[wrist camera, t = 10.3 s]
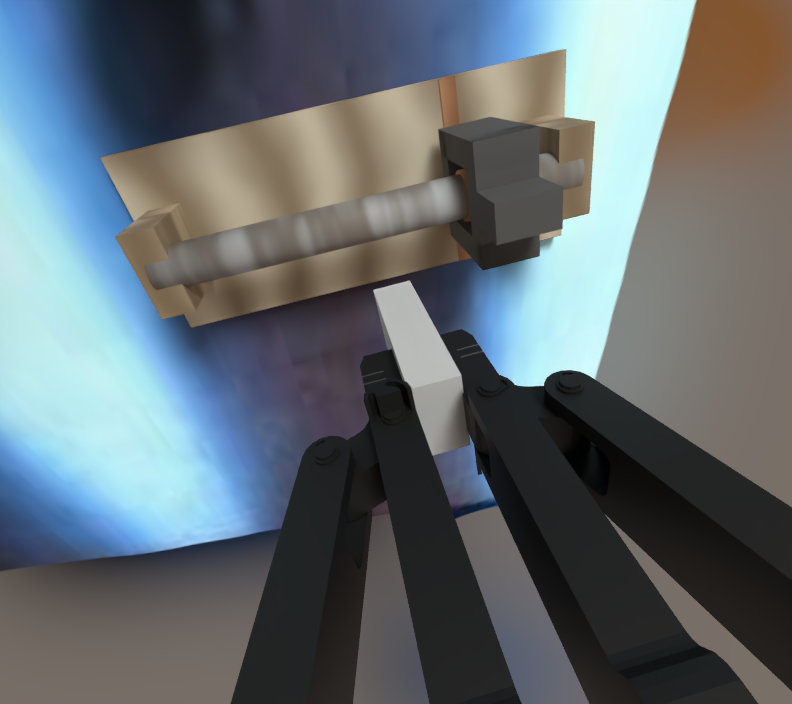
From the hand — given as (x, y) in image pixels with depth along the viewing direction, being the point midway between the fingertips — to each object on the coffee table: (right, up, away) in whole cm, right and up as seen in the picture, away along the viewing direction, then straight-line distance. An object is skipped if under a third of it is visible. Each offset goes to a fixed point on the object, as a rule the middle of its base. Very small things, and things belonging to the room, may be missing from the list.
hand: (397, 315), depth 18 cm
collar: (+6, +12, +16) cm, 21 cm away
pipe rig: (-3, +11, +18) cm, 21 cm away
